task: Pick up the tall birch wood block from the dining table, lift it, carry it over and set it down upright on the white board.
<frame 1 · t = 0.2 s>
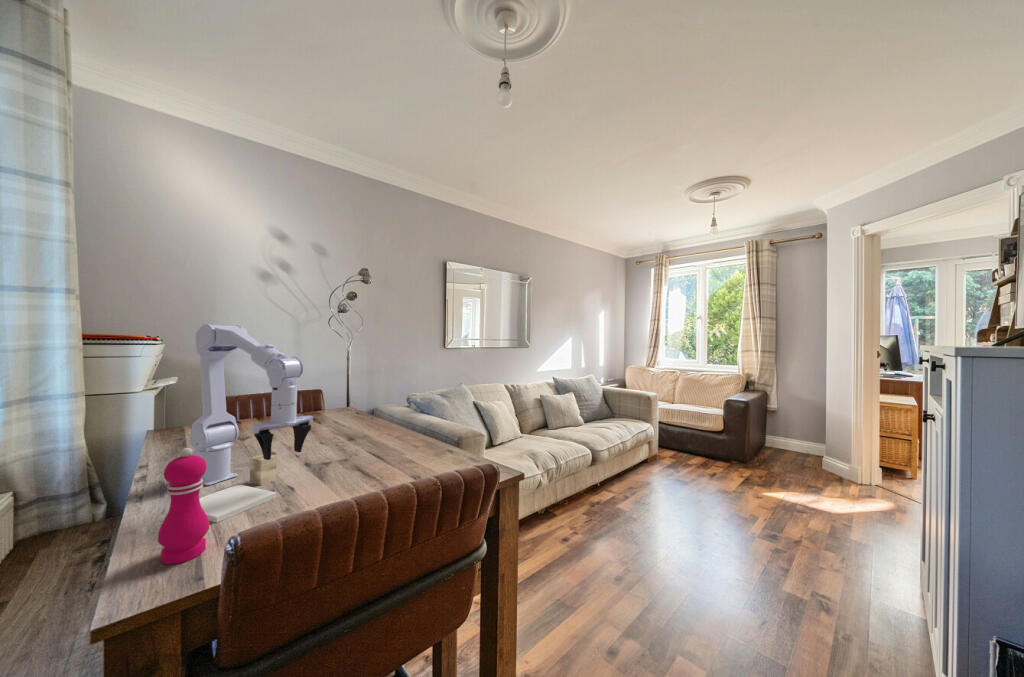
hand: (282, 455, 97), 10 cm above the table, tool pointing down, fingers open, 7 cm apart
birch block: (263, 481, 104), on the table
pepper mill: (183, 555, 69), on the table
white board: (228, 504, 89), on the table
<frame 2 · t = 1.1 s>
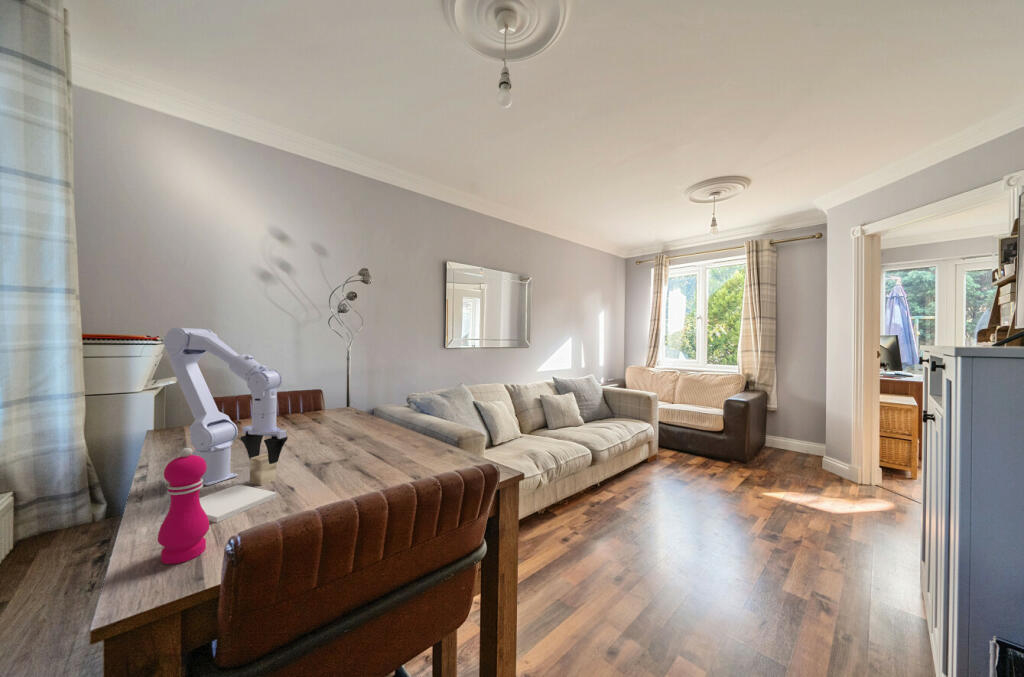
hand: (263, 461, 104), 6 cm above the table, tool pointing down, fingers open, 7 cm apart
nothing on the table moved.
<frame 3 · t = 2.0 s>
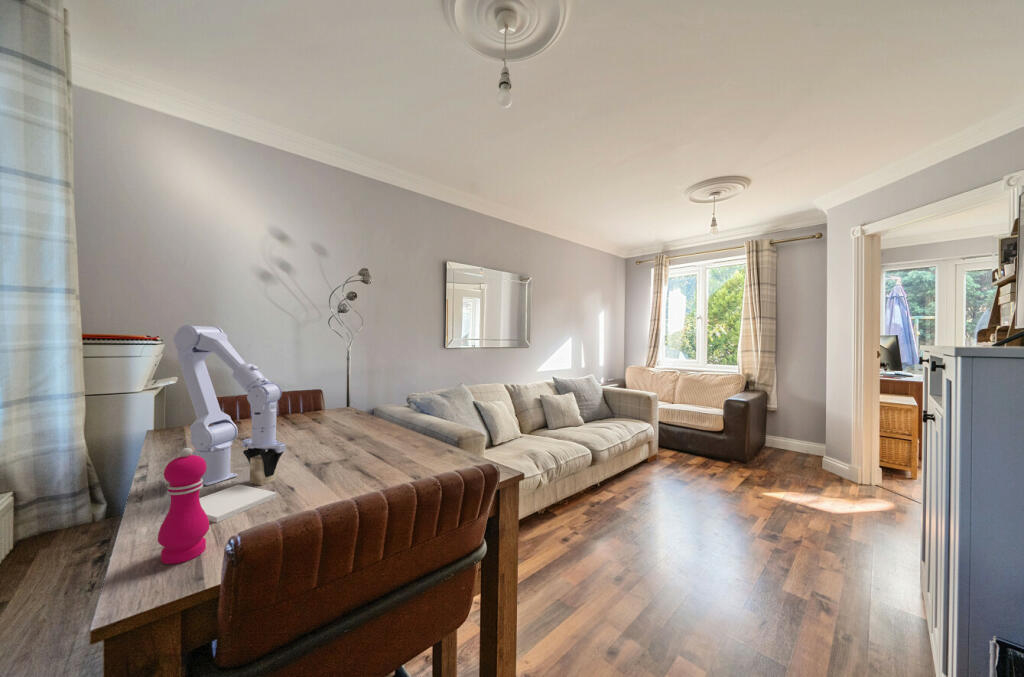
hand: (263, 474, 104), 2 cm above the table, tool pointing down, fingers closed on birch block, 4 cm apart
birch block: (263, 481, 104), on the table, touching gripper
everything else where it was.
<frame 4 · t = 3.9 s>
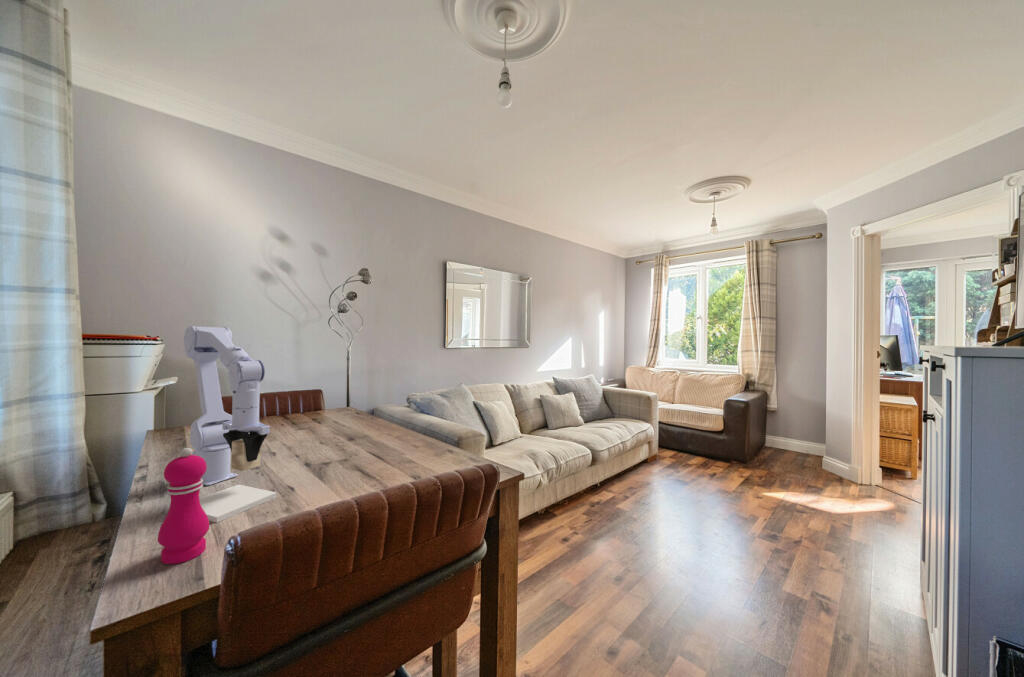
hand: (245, 459, 95), 9 cm above the table, tool pointing down, fingers closed on birch block, 4 cm apart
birch block: (245, 467, 95), point 7 cm above the table, touching gripper
everything else where it was.
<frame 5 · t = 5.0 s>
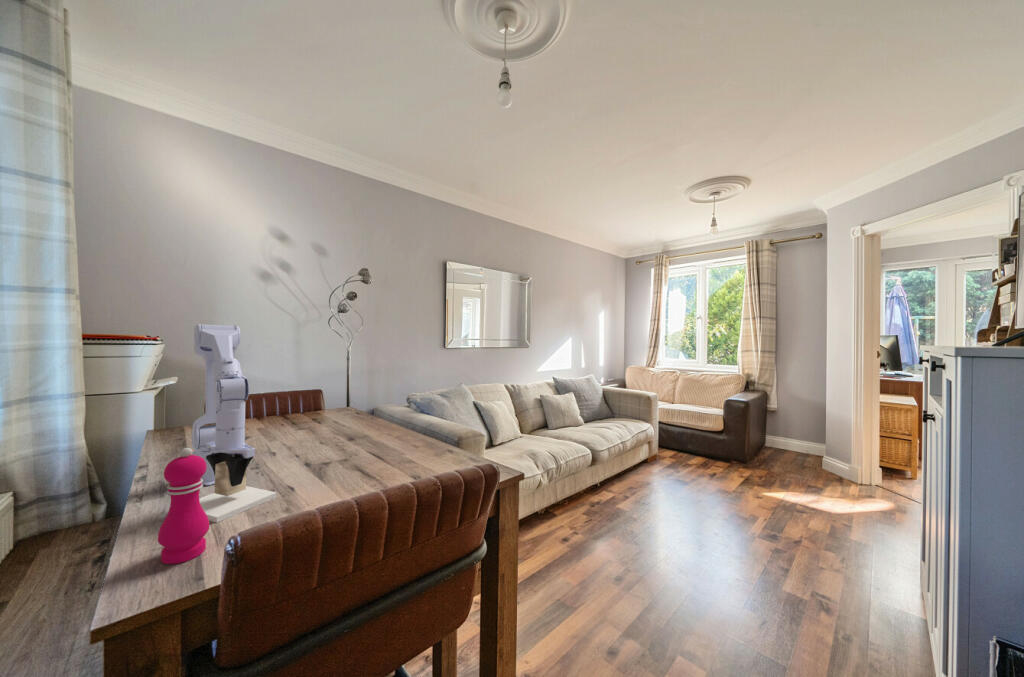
hand: (229, 483, 89), 5 cm above the table, tool pointing down, fingers closed on birch block, 4 cm apart
birch block: (230, 491, 90), point 3 cm above the table, touching gripper
everything else where it was.
when the fingers open (4 cm above the table, at t = 5.6 s): birch block drops 1 cm, resting on white board.
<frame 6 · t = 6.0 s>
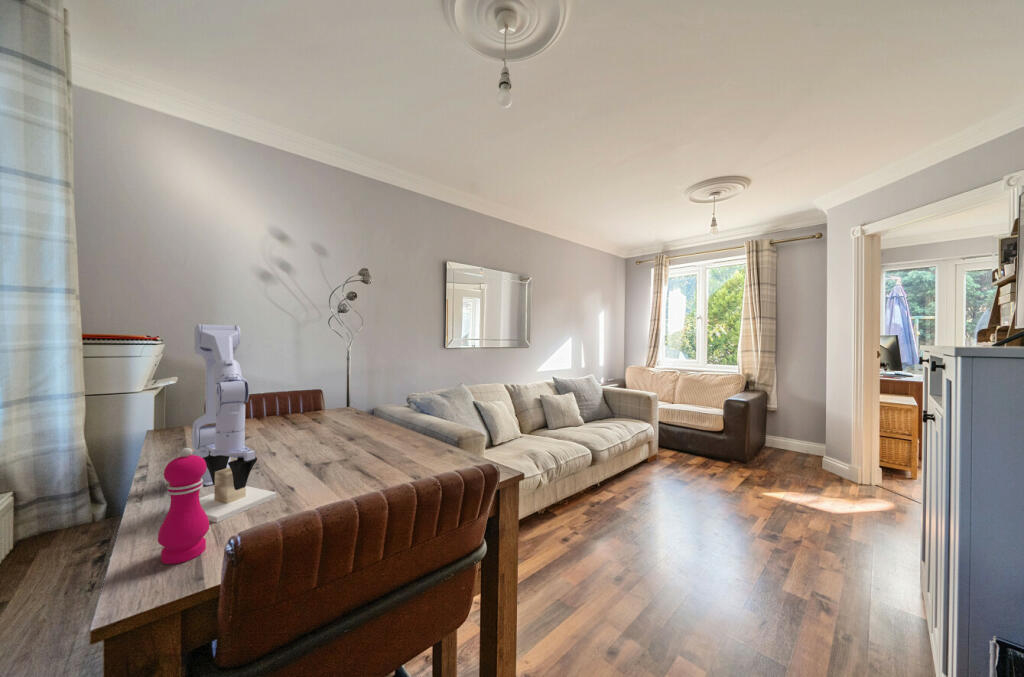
hand: (229, 486, 89), 4 cm above the table, tool pointing down, fingers open, 7 cm apart
birch block: (230, 498, 90), point 1 cm above the table, touching white board
everything else where it was.
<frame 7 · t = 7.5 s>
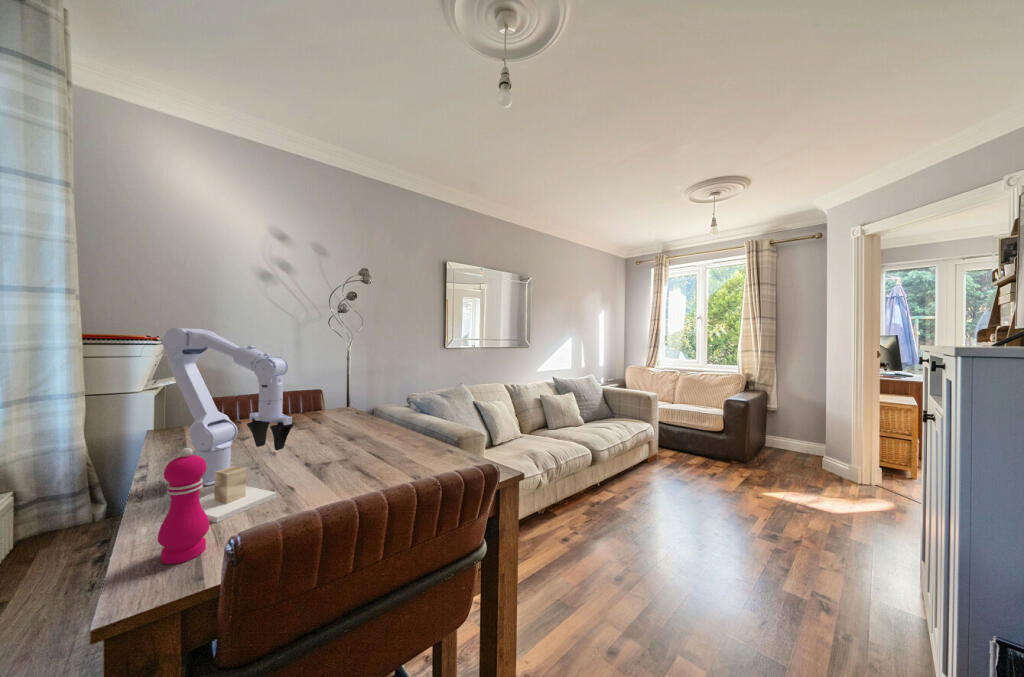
hand: (269, 447, 104), 9 cm above the table, tool pointing down, fingers open, 7 cm apart
nothing on the table moved.
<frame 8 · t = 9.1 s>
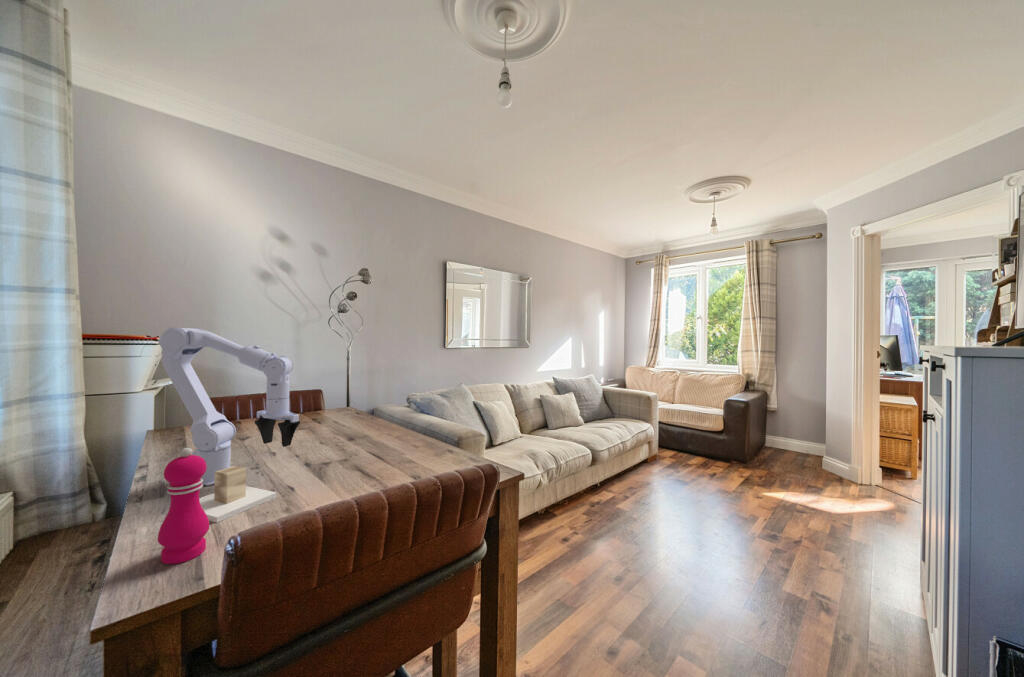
hand: (277, 444, 108), 9 cm above the table, tool pointing down, fingers open, 7 cm apart
nothing on the table moved.
at the end: birch block inside the target area on the white board (0.3 cm from its centre), point 1.2 cm above the white board's base; birch block tilted 0°; the gripper is holding nothing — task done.
